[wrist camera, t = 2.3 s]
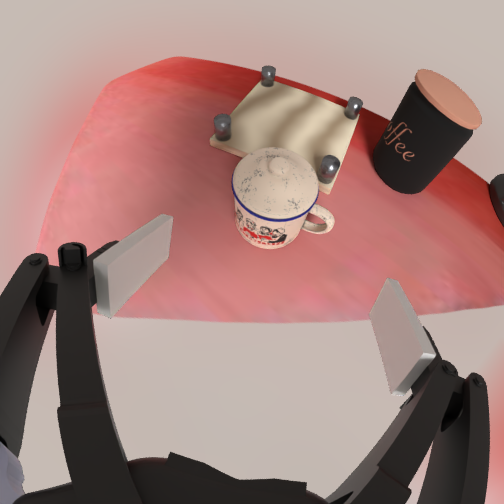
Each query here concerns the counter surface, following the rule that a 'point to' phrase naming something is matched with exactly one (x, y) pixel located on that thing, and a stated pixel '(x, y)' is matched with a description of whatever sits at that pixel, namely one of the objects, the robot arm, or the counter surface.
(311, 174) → the teacup with lid
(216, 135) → the set of grey pegs
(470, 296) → the counter surface
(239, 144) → the birch board
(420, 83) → the coffee jar
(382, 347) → the robot arm
